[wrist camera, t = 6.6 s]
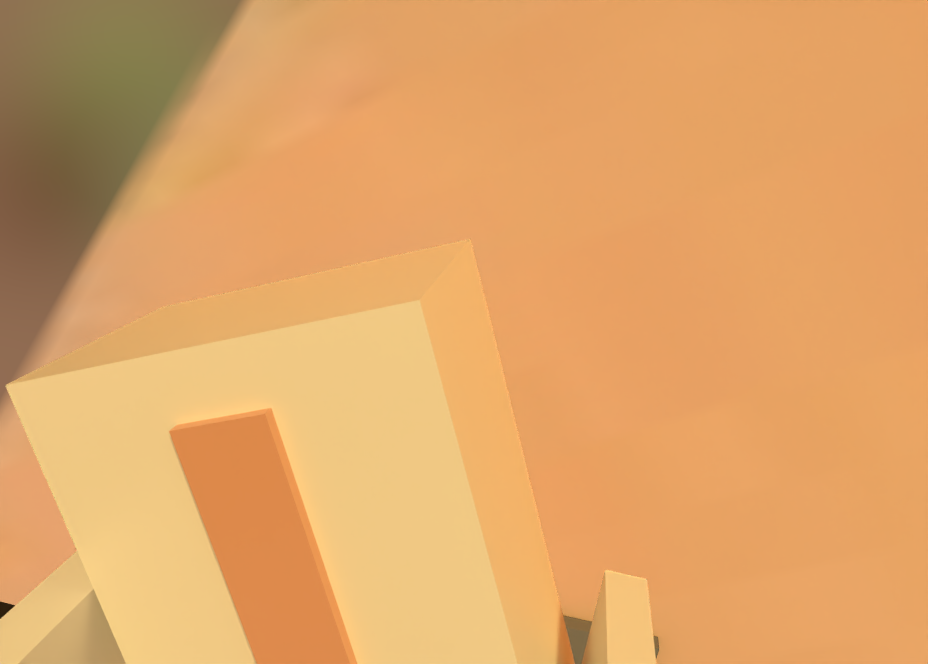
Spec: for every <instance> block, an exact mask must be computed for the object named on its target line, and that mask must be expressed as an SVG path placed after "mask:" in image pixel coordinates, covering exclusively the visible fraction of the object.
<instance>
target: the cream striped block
mask: <svg viewBox="0 0 928 664" xmlns="http://www.w3.org/2000/svg"><path fill="white" fill-rule="evenodd" d="M6 388H7V390H8V392H9V395H10V397H11V399H12V402H13V404H14V406H15V409H16V411H17V413H18V415H19V418H20V420H21V422H22V425H23V427H24V429H25V432H26V434H27V436H28V439H29V441H30V443H31V446H32V448H33V450H34V452H35V455H36V457H37V459H38V462H39V464H40V466H41V469H42V471H43V473H44V476H45V478H46V480H47V482H48V485H49V487H50V489H51V492H52V494H53V496H54V499H55V501H56V503H57V506H58V508H59V510H60V513H61V515H62V517H63V519H64V522H65V524H66V526H67V529H68V531H69V533H70V536H71V538H72V540H73V543H74V545H75V547H76V549H77V552H78V554H79V556H80V559H81V561H82V563H83V566H84V568H85V570H86V573H87V575H88V577H89V579H90V582H91V584H92V586H93V589H94V591H95V593H96V596H97V598H98V600H99V603H100V605H101V607H102V610H103V612H104V614H105V616H106V619H107V621H108V623H109V626H110V628H111V630H112V633H113V635H114V637H115V640H116V642H117V644H118V646H119V649H120V651H121V653H122V656H123V658H124V660H125V663H126V664H575V662H574V658H573V654H572V650H571V646H570V642H569V638H568V634H567V629H566V625H565V621H564V617H563V613H562V609H561V605H560V601H559V597H558V593H557V589H556V585H555V581H554V577H553V573H552V568H551V564H550V560H549V556H548V552H547V548H546V544H545V540H544V536H543V532H542V528H541V524H540V520H539V516H538V511H537V507H536V503H535V499H534V495H533V491H532V487H531V483H530V479H529V475H528V471H527V467H526V463H525V459H524V455H523V450H522V446H521V442H520V438H519V434H518V430H517V426H516V422H515V418H514V414H513V410H512V406H511V402H510V398H509V393H508V389H507V385H506V381H505V377H504V373H503V369H502V365H501V361H500V357H499V353H498V349H497V345H496V341H495V337H494V332H493V328H492V324H491V320H490V316H489V312H488V308H487V304H486V300H485V296H484V292H483V288H482V284H481V280H480V275H479V271H478V267H477V263H476V259H475V255H474V251H473V247H472V243H471V239H467V240H462V241H458V242H453V243H449V244H444V245H440V246H435V247H431V248H426V249H422V250H417V251H413V252H408V253H404V254H399V255H395V256H390V257H385V258H381V259H376V260H372V261H367V262H363V263H358V264H354V265H349V266H345V267H340V268H336V269H331V270H327V271H322V272H318V273H313V274H309V275H304V276H300V277H295V278H291V279H286V280H282V281H277V282H273V283H268V284H263V285H259V286H254V287H250V288H245V289H241V290H236V291H232V292H227V293H223V294H218V295H214V296H209V297H205V298H200V299H196V300H191V301H187V302H182V303H178V304H173V305H169V306H164V307H161V308H159V309H157V310H155V311H153V312H151V313H149V314H147V315H145V316H143V317H141V318H139V319H137V320H135V321H133V322H131V323H129V324H127V325H125V326H123V327H121V328H119V329H117V330H115V331H113V332H111V333H109V334H107V335H105V336H103V337H101V338H99V339H97V340H95V341H93V342H91V343H89V344H87V345H85V346H83V347H81V348H79V349H77V350H75V351H73V352H71V353H69V354H67V355H65V356H63V357H61V358H59V359H57V360H55V361H53V362H51V363H49V364H47V365H45V366H43V367H41V368H39V369H37V370H35V371H33V372H31V373H29V374H27V375H25V376H23V377H21V378H19V379H17V380H15V381H13V382H11V383H9V384H7V385H6Z"/></svg>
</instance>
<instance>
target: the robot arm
mask: <svg viewBox="0 0 928 664" xmlns="http://www.w3.org/2000/svg"><path fill="white" fill-rule="evenodd" d="M0 664H126V663H125V660H124V658H123V656H122V653H121V651H120V649H119V646H118V644H117V642H116V640H115V637H114V635H113V633H112V630H111V628H110V626H109V623H108V621H107V619H106V616H105V614H104V612H103V610H102V607H101V605H100V603H99V600H98V598H97V596H96V593H95V591H94V589H93V586H92V584H91V582H90V579H89V577H88V575H87V573H86V570H85V568H84V566H83V563H82V561H81V559H80V556H79V554H78V552H77V551H76V552H75V553H74V554H73V555H72V556H71V557H69V558H68V559H67V560H66V561H65V562H64V563H63V564H62V565H60V566H59V567H58V568H57V569H56V570H55V571H54V572H53V573H51V574H50V575H49V576H48V577H47V578H46V579H45V580H44V581H42V582H41V583H40V584H39V585H38V586H37V587H36V588H35V589H33V590H32V591H31V592H30V593H29V594H28V595H27V596H26V597H25V598H23V599H22V600H21V601H20V602H19V603H18V604H17V605H16V606H15V605H12V604H8V603H4V602H0ZM582 664H656V656H655V647H654V638H653V629H652V620H651V611H650V601H649V592H648V583H647V579H645V578H641V577H636V576H632V575H627V574H623V573H619V572H614V571H610V570H605V573H604V577H603V581H602V585H601V589H600V592H599V596H598V600H597V604H596V608H595V612H594V616H593V620H592V624H591V628H590V632H589V636H588V640H587V644H586V648H585V652H584V656H583V660H582Z"/></svg>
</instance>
